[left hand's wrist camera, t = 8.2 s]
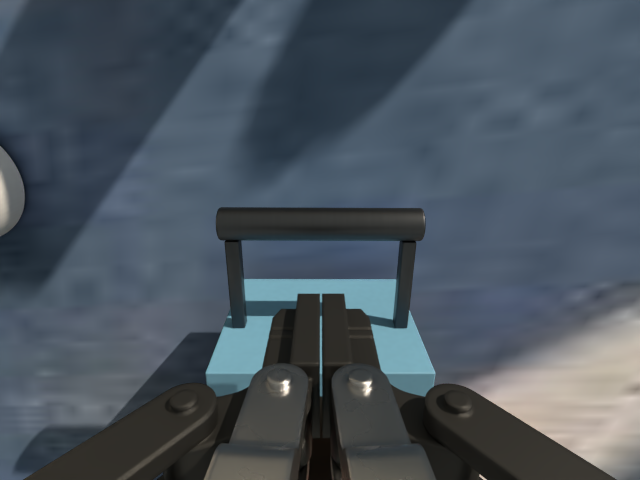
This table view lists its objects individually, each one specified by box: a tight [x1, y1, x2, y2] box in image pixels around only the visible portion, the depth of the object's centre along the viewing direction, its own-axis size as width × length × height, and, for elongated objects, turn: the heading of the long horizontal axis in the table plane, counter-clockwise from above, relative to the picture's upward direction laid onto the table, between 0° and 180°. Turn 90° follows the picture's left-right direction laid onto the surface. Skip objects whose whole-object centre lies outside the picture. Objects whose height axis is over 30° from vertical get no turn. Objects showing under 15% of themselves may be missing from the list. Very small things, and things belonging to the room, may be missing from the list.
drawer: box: [205, 207, 435, 480], centre depth 21 cm, size 24×9×8 cm, turn 0°
